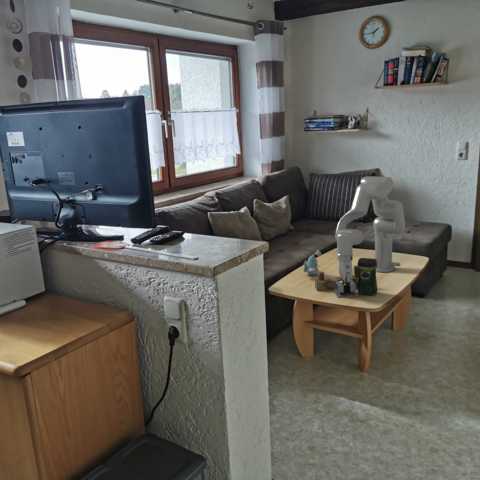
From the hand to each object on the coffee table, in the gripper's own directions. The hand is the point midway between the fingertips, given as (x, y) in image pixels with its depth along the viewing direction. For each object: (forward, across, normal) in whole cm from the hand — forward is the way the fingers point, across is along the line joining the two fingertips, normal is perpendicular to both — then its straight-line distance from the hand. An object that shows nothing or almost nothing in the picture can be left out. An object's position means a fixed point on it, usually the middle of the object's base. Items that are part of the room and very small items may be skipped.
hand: (345, 290), depth 251 cm
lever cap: (0, 0, 0) cm, 0 cm away
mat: (+2, 0, 0) cm, 2 cm away
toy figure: (+2, +36, +10) cm, 37 cm away
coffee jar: (+2, -1, -11) cm, 11 cm away
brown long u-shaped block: (+2, +11, 0) cm, 11 cm away
